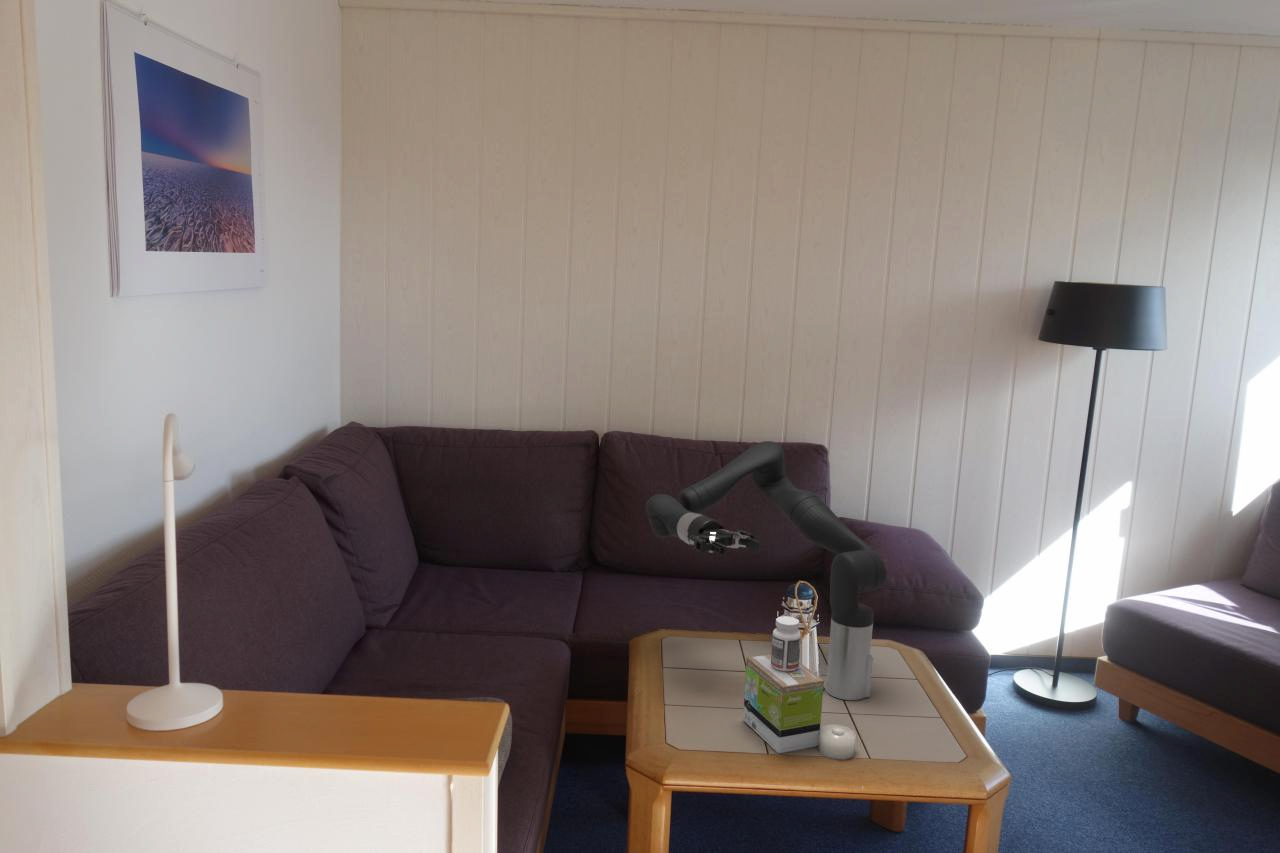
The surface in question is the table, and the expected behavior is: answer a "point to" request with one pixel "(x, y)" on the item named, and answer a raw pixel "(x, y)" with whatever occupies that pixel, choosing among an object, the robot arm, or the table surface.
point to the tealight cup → (837, 741)
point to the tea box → (783, 704)
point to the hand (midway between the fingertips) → (741, 548)
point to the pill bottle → (786, 644)
